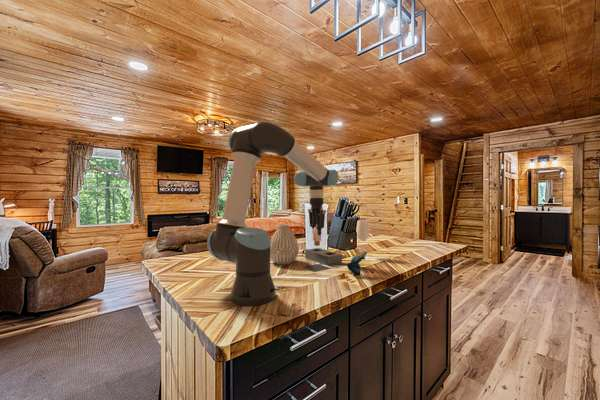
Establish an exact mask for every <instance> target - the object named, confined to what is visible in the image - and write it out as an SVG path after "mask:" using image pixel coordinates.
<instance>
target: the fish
mask: <svg viewBox="0 0 600 400" xmlns="http://www.w3.org/2000/svg"><path fill="white" fill-rule="evenodd" d="M367 253H368V251H363V252H361V253H360V254H355V255H354V256H352V258H351V260H350V262H347V263H346V266H347V269H348V270H349V272H351V273H352V274H354V275H356V276H358V275H360V274H361V273H362V272H361V271H362V270H361V265H360V262H362V261H363V260H364V261H366V257H367Z"/></svg>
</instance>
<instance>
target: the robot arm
mask: <svg viewBox="0 0 600 400" xmlns="http://www.w3.org/2000/svg"><path fill="white" fill-rule="evenodd" d="M228 147H229V148H230V152H231V157H232V158H233V163H232V164H233V165H232V169H231V174H230V177H229V183H228V187H227V192H226V193H227V194H226V199H225V201H224V202H225V204H224V208H223V213H222V218H221V219H220V220H218V221H217V222H216V226H215V229H213V230H212V232H210V234H208V236H207V240H206V241H207V242H206V244H207V245H206V247H207V250H208V252H209V254H210V255H211V256H213V258H214V259H217V260H220V261H222V262H224V261H225V262H227V263H228V262H229V263H233V264H235V278H234V281H233V284H232V287H231V291H230V301H231V302H232V303H234V304H236V305H239V306H244V307H245V306H247V307H248V306H249V307H251V306H253V307H254V306H261V305H264V304H267V303H270V302H271V301H273V300H274V299H275V298H276V287H275V284H274V281H273V279H272V275H271V258H270V245H271V244H270V239H271V238H270V237H271V235H270V232H268V231H267V230H265V229H262V228H258V227H252V226H251V227H250V226H247V224H246V218H247V212H248V208H249V207H248V206H249V201H250V196H251V192H252V185H253V180H254V175H255V170H256V165H257V164H258V163H260V162H261V159H262V154H263V153H264V154H265V153H273V154H275V155H277V156H279V157H281V158H282V157H284V158H285V159H287V160H288V161H289V162H291V163H292V164H293V165H295V166H296V167H298V168H299V169H300V170H301V171H297V172H296V173H295V174H294V177H293V178H294V179H293V181H294V183H295V185H296V186H298V187H309V197H310V198H309V205H310V206H311V207H310V209H309V208H308V210H307V212H308V217H309V218H308V219H309V220H308V221H309V227H310V228H311V229H312V230H311V231H312V241H314V227H317V228H316V241H320V242H321V241H322V229H324V228H325V217H326V212H327V210H326V209H323V205H324V187H325V186H327V187H330V186H335V185H337V184H338V182H339V173H338V171H337V170H336V169H331V168H330V169H328V168H327V167H326V166H324V164H322V163H321V162H320V161H319V160H317V159H316V157H315V156H314V155H312V154H311V153H309V152H308V151H307V150H306V149H304V148H303V147H302V146H301V145H300V144H299V142H297V141H296V138H295V137H294V135H292V134H291V133H290V132H288V131H287V130H286V129H284V128H283V127H281V126H279V125H277V124H276V123H272V122H270V121H263V120H261V121H257V122H255V123H252V124H251V123H250V124H248V125H243V126H242V125H241V126H239V127H237V128H235V129H233V130H232V132H231V133H230V135H229V137H228Z"/></svg>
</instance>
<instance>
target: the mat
mask: <svg viewBox="0 0 600 400" xmlns="http://www.w3.org/2000/svg"><path fill="white" fill-rule="evenodd" d="M302 268H304V269H306V270H309V271H311V272H313V273H315V272H316V273H317V272H321V271H326V270H331V269H332V268H331V267H330V266H327V265H324V264H321V263H316V264H311V265H305V266H304V265H303V266H302Z"/></svg>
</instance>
